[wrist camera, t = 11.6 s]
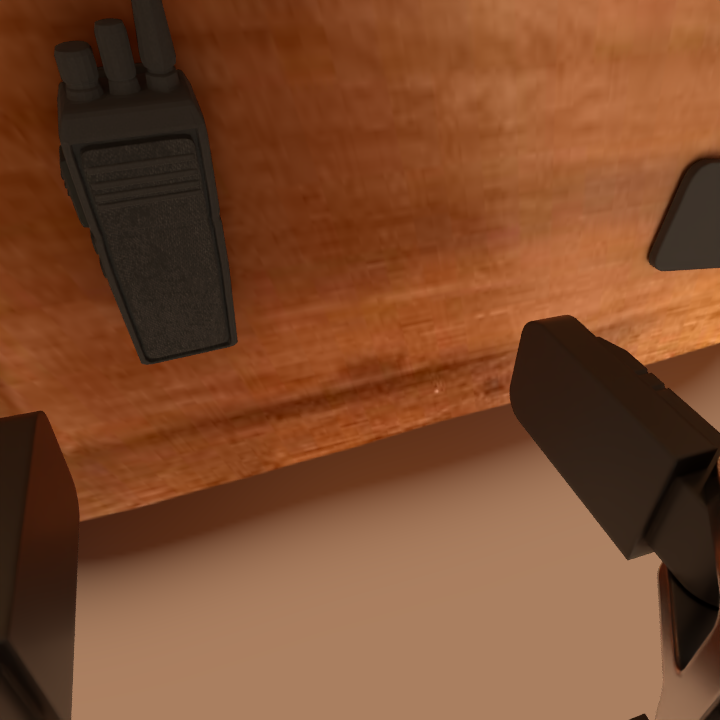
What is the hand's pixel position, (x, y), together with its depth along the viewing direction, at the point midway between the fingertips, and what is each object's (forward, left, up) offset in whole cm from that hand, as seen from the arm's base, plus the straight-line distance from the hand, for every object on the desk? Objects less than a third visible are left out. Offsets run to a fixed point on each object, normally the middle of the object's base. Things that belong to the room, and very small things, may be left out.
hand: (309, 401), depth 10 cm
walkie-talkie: (+2, +1, -20) cm, 20 cm away
